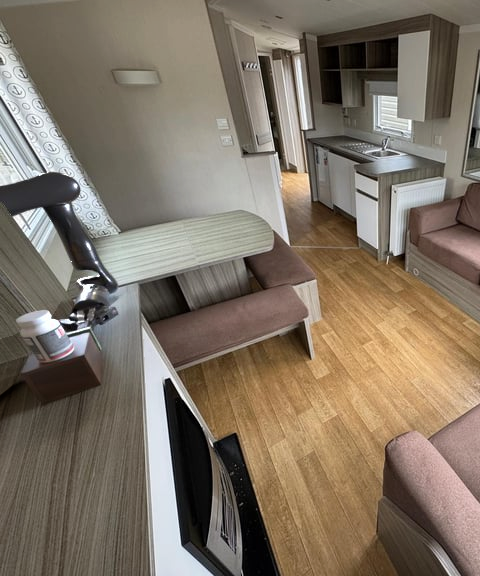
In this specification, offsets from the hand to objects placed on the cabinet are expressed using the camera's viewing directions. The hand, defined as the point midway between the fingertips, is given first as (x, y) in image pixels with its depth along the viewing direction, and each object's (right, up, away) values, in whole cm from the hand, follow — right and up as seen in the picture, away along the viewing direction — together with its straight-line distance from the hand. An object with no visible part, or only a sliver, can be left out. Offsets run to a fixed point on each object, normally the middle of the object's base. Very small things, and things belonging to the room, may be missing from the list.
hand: (85, 331), depth 78 cm
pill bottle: (+6, -3, -12) cm, 14 cm away
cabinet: (+5, -10, -7) cm, 14 cm away
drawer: (+1, -7, -3) cm, 8 cm away
